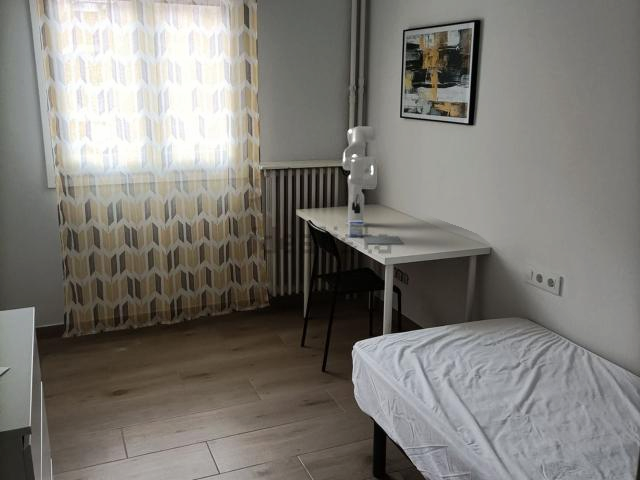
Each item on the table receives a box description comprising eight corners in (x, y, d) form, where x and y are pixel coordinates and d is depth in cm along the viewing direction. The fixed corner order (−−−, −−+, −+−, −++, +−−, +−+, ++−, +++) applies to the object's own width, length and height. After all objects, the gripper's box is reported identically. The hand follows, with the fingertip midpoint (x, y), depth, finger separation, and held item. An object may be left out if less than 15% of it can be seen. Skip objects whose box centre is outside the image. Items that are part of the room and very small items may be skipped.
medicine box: (349, 237, 338) (349, 221, 336) (347, 235, 342) (347, 220, 340) (362, 236, 339) (363, 221, 337) (360, 234, 344) (361, 219, 341)
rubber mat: (363, 237, 337) (363, 236, 337) (398, 237, 339) (398, 236, 338) (367, 244, 323) (367, 243, 322) (404, 244, 324) (404, 243, 324)
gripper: (348, 179, 341) (347, 209, 345) (352, 183, 324) (351, 214, 328) (361, 179, 341) (360, 209, 345) (366, 183, 325) (364, 214, 328)
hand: (355, 211), depth 337 cm, fingers open, 9 cm apart
